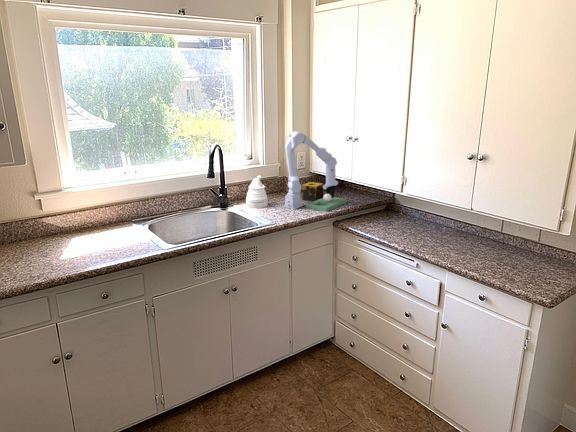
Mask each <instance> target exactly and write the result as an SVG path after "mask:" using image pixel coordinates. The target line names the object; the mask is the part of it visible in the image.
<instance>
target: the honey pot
mask: <svg viewBox="0 0 576 432" xmlns="http://www.w3.org/2000/svg"><path fill="white" fill-rule="evenodd" d="M262 177H263V176H262V175H257V176H256V177H255V178H254V179H252V181H251V183H250V185H249V186H248V191H247V193H246V197H245V203H246V207H247V208H250V209H262V208H263V209H264V208H266V207H268V195H267V192H266V189H265V188H266V185H264V184H263V183H262V182H261V179H262Z"/></svg>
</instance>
